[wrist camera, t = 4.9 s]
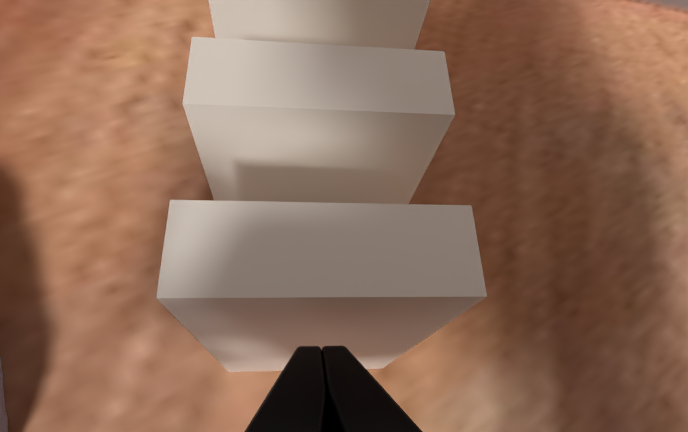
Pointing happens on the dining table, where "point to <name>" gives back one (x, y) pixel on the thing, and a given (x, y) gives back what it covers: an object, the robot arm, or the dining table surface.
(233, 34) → the domino
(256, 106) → the domino
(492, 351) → the dining table surface
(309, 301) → the domino
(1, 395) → the stone block
